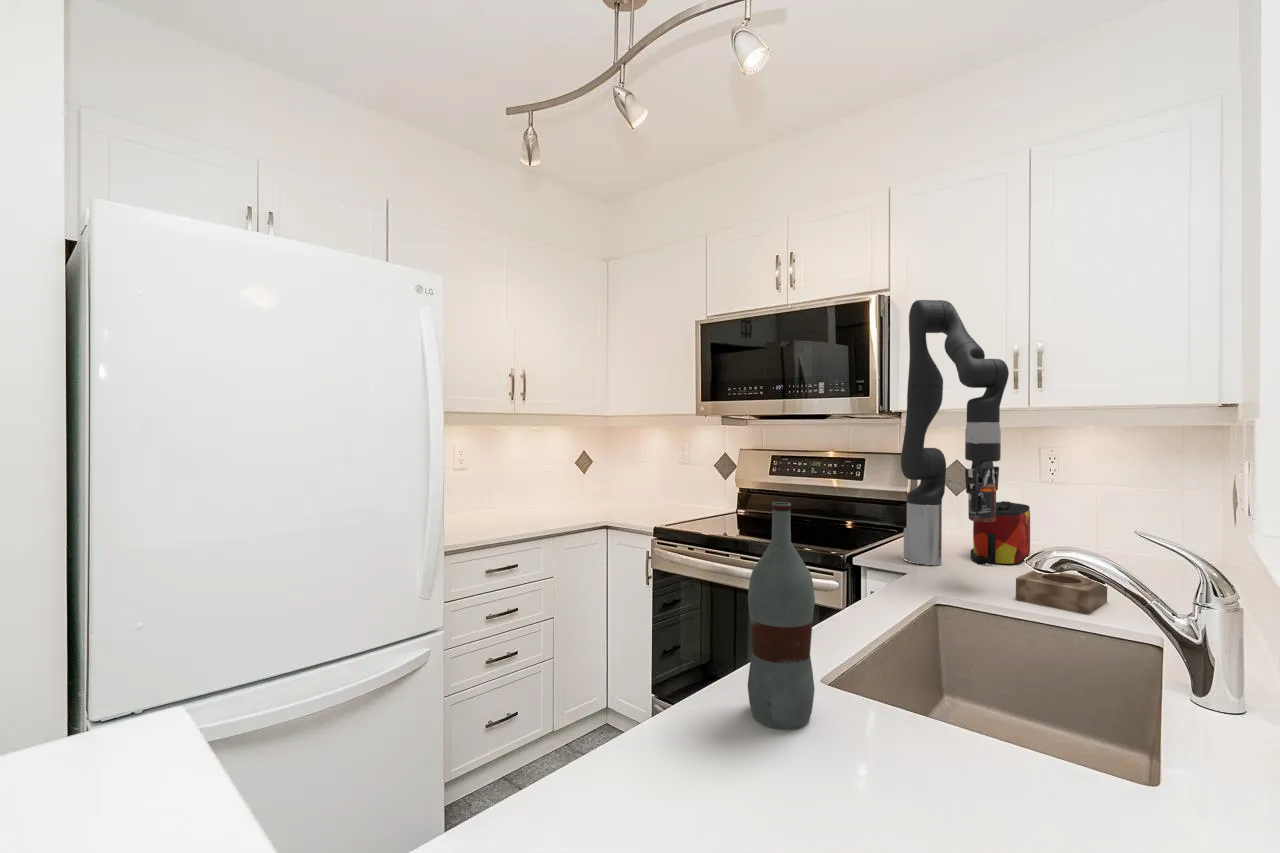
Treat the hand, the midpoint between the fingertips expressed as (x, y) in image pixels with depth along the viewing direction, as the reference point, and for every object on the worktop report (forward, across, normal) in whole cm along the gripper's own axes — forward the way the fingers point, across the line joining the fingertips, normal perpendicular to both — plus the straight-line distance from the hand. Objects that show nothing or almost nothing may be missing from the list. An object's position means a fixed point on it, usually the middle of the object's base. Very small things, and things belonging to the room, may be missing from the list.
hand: (982, 509), depth 150 cm
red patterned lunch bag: (+20, -42, -12) cm, 48 cm away
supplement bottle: (+3, 0, 0) cm, 3 cm away
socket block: (+20, -5, +15) cm, 25 cm away
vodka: (+20, +89, +9) cm, 92 cm away
